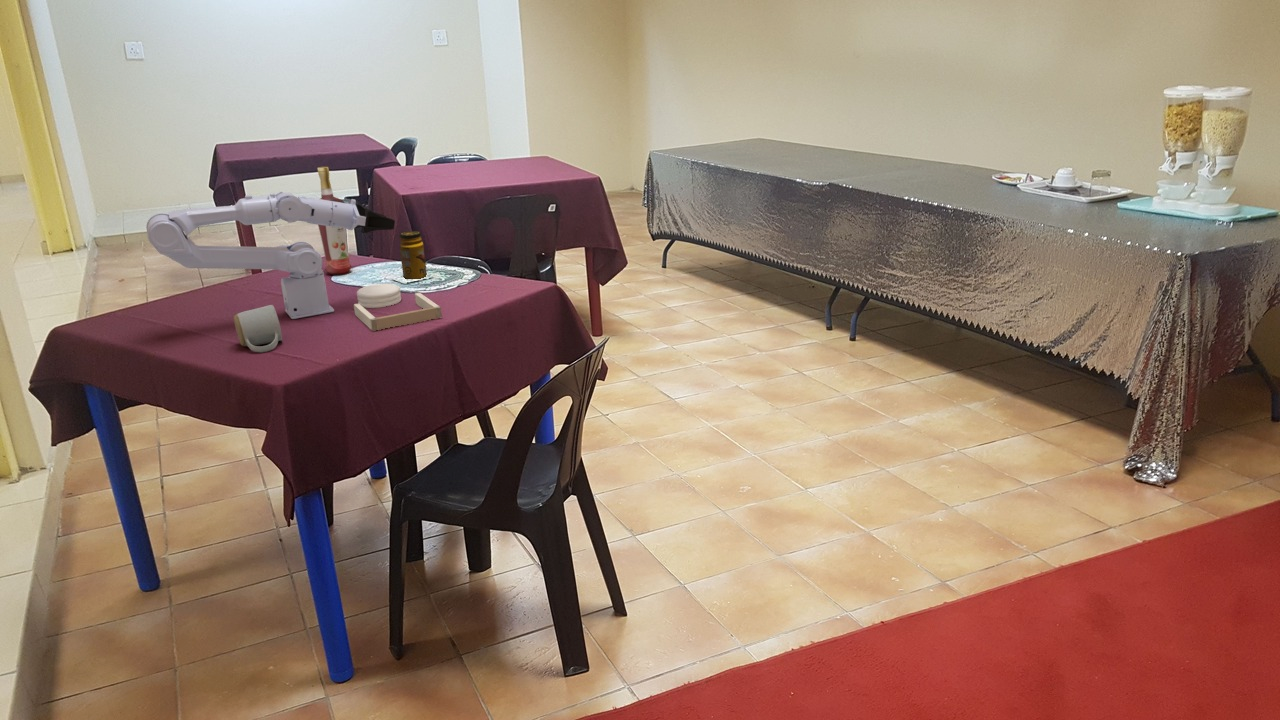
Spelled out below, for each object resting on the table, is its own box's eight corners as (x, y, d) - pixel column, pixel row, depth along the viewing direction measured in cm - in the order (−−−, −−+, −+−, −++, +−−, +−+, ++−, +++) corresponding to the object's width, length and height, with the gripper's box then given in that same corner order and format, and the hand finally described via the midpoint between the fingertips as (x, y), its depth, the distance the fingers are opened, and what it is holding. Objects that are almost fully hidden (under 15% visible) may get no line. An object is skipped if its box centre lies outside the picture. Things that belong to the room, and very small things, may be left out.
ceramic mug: (237, 342, 189) (230, 307, 186) (278, 334, 192) (271, 300, 190) (245, 357, 180) (238, 321, 177) (287, 349, 184) (281, 313, 181)
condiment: (434, 278, 233) (428, 232, 229) (405, 285, 227) (398, 238, 223) (419, 273, 238) (413, 228, 234) (390, 280, 232) (384, 234, 228)
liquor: (338, 277, 236) (321, 170, 227) (319, 274, 240) (301, 168, 230) (359, 271, 242) (343, 166, 232) (340, 268, 246) (324, 164, 236)
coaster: (351, 308, 210) (348, 294, 208) (369, 296, 219) (367, 282, 218) (391, 309, 208) (389, 294, 207) (408, 297, 217) (406, 283, 216)
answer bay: (373, 331, 192) (371, 320, 191) (355, 314, 204) (353, 304, 203) (442, 318, 199) (440, 307, 199) (420, 302, 211) (419, 292, 210)
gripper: (338, 199, 197) (400, 209, 204) (325, 193, 209) (384, 202, 216) (334, 230, 198) (395, 239, 205) (322, 223, 210) (380, 231, 217)
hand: (389, 222), depth 210 cm, fingers open, 7 cm apart
